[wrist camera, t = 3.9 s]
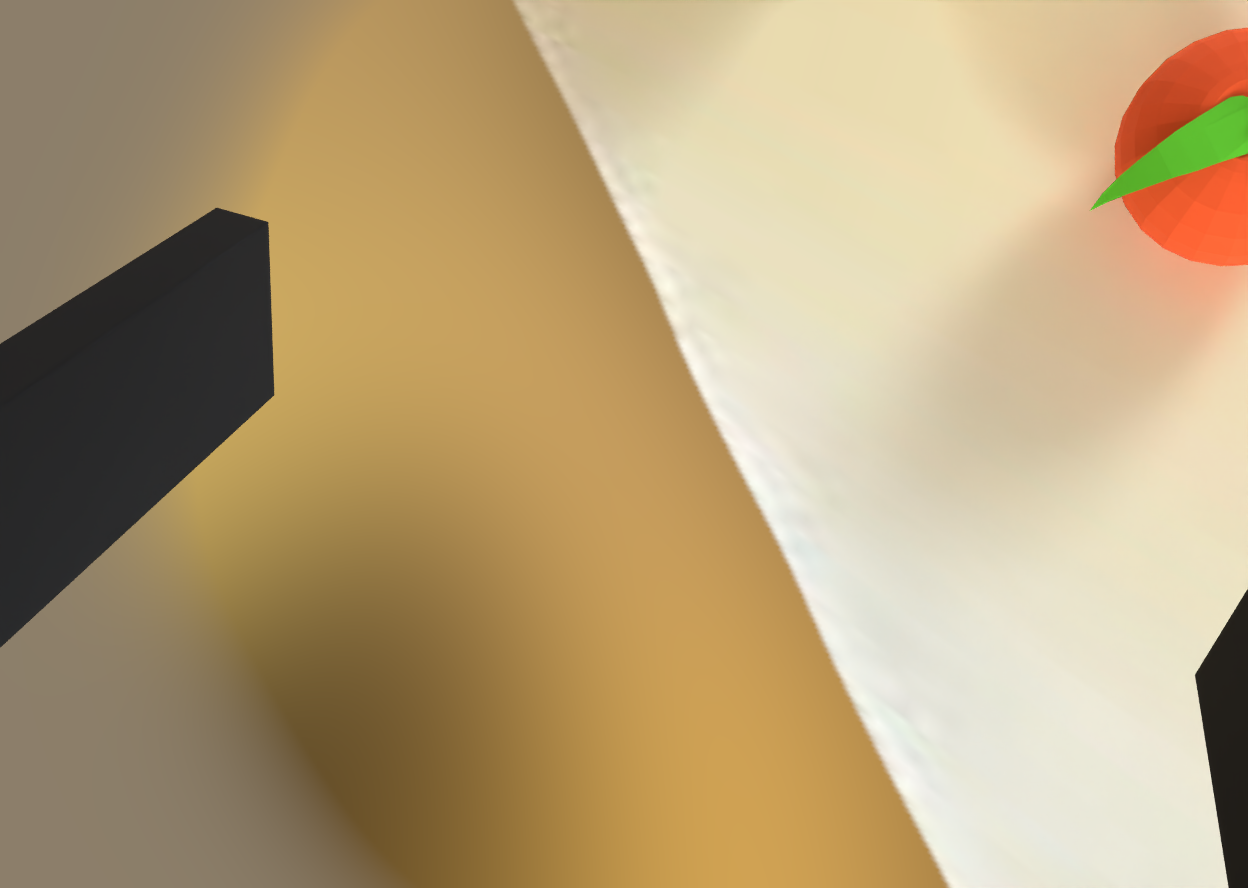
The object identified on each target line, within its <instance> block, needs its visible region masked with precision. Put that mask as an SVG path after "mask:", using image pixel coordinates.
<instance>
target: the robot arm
mask: <svg viewBox="0 0 1248 888" xmlns="http://www.w3.org/2000/svg"><path fill="white" fill-rule="evenodd" d="M268 229H269V228H268V222H266V221H263V220H259V219H255V218H252V217H248V216H245V215H241V214H237V213H233V212H230V211H227V210H223V209H219V208H215V209H214V210H212V211H211V212H209V213H207V214H206V215H204V216H203V217H201V218H200V219H198V220H197V221H195V222H193V223H192V224H190V225H188V226H187V227H185V228H184V229H182V230H180V231H179V232H178V233H176V234H174V235H173V236H171V237H169V238H168V239H166V240H165V241H163V242H161V243H160V244H158V245H157V246H155V247H154V248H152V249H150V250H149V251H147V252H146V253H144V254H142V255H141V256H139V257H138V258H136V259H134V260H133V261H131V262H130V263H128V264H127V265H125V266H123V267H122V268H120V269H119V270H117V271H115V272H114V273H112V274H111V275H109V276H108V277H106V278H104V279H103V280H101V281H99V282H98V283H96V284H95V285H93V286H92V287H90V288H88V289H87V290H85V291H84V292H82V293H80V294H79V295H77V296H76V297H74V298H72V299H71V300H69V301H68V302H66V303H64V304H63V305H61V306H60V307H58V308H57V309H55V310H53V311H52V312H51V313H49V314H47V315H45V316H44V317H42V318H41V319H39V320H37V321H36V322H35V323H33V324H31V325H30V326H28V327H26V328H25V329H23V330H22V331H20V332H18V333H17V334H15V335H14V336H12V337H11V338H9V339H7V340H6V341H4V342H3V343H1V344H0V647H1V646H3V644H5V643H6V642H7V641H8V640H9V639H10V638H11V637H12V636H13V635H14V634H16V632H17V631H19V630H20V629H21V628H22V627H23V626H24V625H25V624H26V623H27V622H29V621H30V620H31V619H32V618H33V617H34V616H35V615H36V614H37V613H38V612H39V611H40V610H41V609H43V608H44V607H45V606H46V605H47V604H48V603H49V602H50V601H51V600H52V599H54V598H55V597H56V596H57V595H58V594H59V593H60V592H61V591H62V590H63V589H64V588H65V587H66V586H68V585H69V584H70V583H71V582H72V581H73V580H74V579H75V578H76V577H77V576H78V575H80V574H81V573H82V572H83V571H84V570H85V569H86V568H87V567H88V566H89V565H90V564H91V563H93V561H95V560H96V559H97V558H98V557H99V556H100V555H101V554H102V553H103V552H104V551H105V550H107V549H108V548H109V547H110V546H111V545H112V544H113V543H114V542H115V541H116V540H118V539H119V538H120V537H121V536H122V535H123V534H124V533H125V532H126V531H127V530H128V529H129V528H131V527H132V526H133V525H134V524H135V523H136V522H137V521H138V520H139V519H140V518H141V517H142V516H144V515H145V514H146V513H147V512H148V511H149V510H150V509H151V508H152V507H153V506H154V505H156V504H157V502H159V501H160V500H161V499H162V498H163V497H164V496H165V495H166V494H167V493H169V491H171V490H172V489H173V488H174V487H175V486H176V485H177V484H178V483H179V482H180V481H182V480H183V479H184V478H185V477H186V476H187V475H188V474H189V473H190V472H191V471H192V470H194V468H195V467H197V466H198V465H199V464H200V463H201V462H202V461H203V460H204V459H205V458H207V457H208V456H209V455H210V454H211V453H212V452H213V451H214V450H215V449H216V448H217V447H218V446H219V445H221V444H222V443H223V442H224V441H225V440H226V439H227V438H228V437H229V436H230V435H231V434H233V433H234V432H235V431H236V430H237V429H238V428H239V427H240V426H241V425H242V424H243V423H245V422H246V421H247V420H248V419H249V418H250V417H251V416H252V415H253V414H254V413H255V412H256V411H258V410H259V409H260V408H261V407H262V406H263V405H264V404H265V403H266V402H267V401H268V400H269V399H271V398H272V397H273V396H274V374H273V346H272V317H271V286H270V257H269V230H268ZM1195 678H1196V684H1197V690H1198V697H1199V703H1200V709H1201V716H1202V722H1203V728H1204V735H1205V741H1206V747H1207V754H1208V760H1209V766H1210V773H1211V779H1212V785H1213V792H1214V798H1215V804H1216V811H1217V817H1218V823H1219V829H1220V836H1221V842H1222V848H1223V855H1224V861H1225V867H1226V874H1227V880H1228V886H1229V888H1248V589H1247V591H1246V593H1245V594H1244V596H1243V597H1242V599H1241V601H1240V602H1239V604H1238V606H1237V607H1236V609H1235V611H1234V612H1233V614H1232V615H1231V617H1230V619H1229V620H1228V622H1227V624H1226V625H1225V627H1224V628H1223V630H1222V632H1221V633H1220V635H1219V637H1218V638H1217V640H1216V642H1215V643H1214V645H1213V646H1212V648H1211V650H1210V651H1209V653H1208V655H1207V656H1206V658H1205V659H1204V661H1203V663H1202V664H1201V666H1200V668H1199V669H1198V671H1197V673H1196V674H1195Z"/></svg>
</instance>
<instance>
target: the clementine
mask: <svg viewBox="0 0 1248 888" xmlns="http://www.w3.org/2000/svg"><path fill="white" fill-rule="evenodd" d="M1115 176H1116V180H1115V181H1114V182H1113V183H1112V184H1111V185H1110V186H1109V187H1108V188H1107V190H1106V191H1105V192H1104V193H1103V194H1102V195H1101V196H1100V198H1099V199H1098V200H1097V202H1096V203H1095V204H1094V206H1093V207H1092V208H1091V210H1092V209H1095V208H1097V207H1099V206H1101V205H1103V204H1105V203H1107V202H1109V201H1111V200H1114V199H1117V198H1119V197H1122V198H1123V202H1124V204H1125V206H1126V208H1127V209H1128V211H1129V212H1130V214H1131V215H1132V217H1133V218H1134V220H1135V221H1136V222H1137V224H1138V225H1139V227H1140V228H1141V230H1142V231H1143V232H1145V233H1146V234H1147V235H1148V236H1149V237H1151V238H1152V239H1153V240H1154V241H1155V242H1157V243H1158V244H1159V245H1160V246H1161V247H1163V248H1164V249H1166V250H1168V251H1171V252H1173V253H1175V254H1177V255H1179V256H1182V257H1184V258H1186V259H1188V260H1190V261H1195V262H1201V263H1206V264H1212V265H1217V266H1233V265H1248V28H1242V29H1233V30H1226V31H1223V32H1220V33H1217V34H1215V35H1212V36H1209V37H1206V38H1203V39H1201V40H1198V41H1195V42H1193V43H1192V44H1190V45H1189V46H1187V47H1185V48H1184V49H1182V50H1181V51H1179V52H1178V53H1176V54H1174V55H1173V56H1171V57H1170V58H1168V59H1167V60H1166V61H1165V62H1164V63H1163V64H1162V65H1161V66H1160V67H1159V68H1158V69H1157V70H1156V71H1155V72H1154V73H1153V74H1152V75H1151V76H1150V77H1149V78H1148V79H1147V80H1146V81H1145V82H1144V83H1143V85H1142V86H1141V87H1140V88H1139V90H1138V91H1137V93H1136V95H1135V97H1134V98H1133V100H1132V102H1131V104H1130V105H1129V107H1128V109H1127V110H1126V112H1125V114H1124V116H1123V118H1122V121H1121V125H1120V129H1119V132H1118V136H1117V140H1116V143H1115Z"/></svg>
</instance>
